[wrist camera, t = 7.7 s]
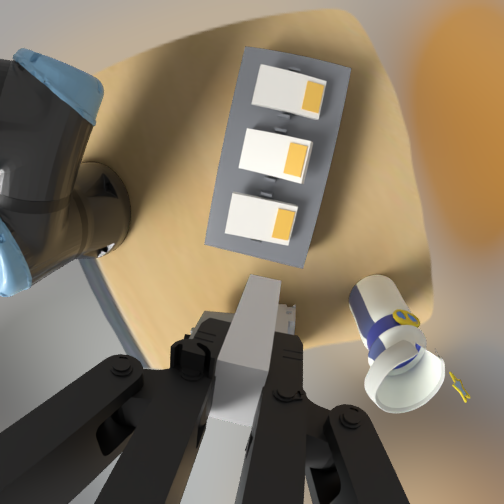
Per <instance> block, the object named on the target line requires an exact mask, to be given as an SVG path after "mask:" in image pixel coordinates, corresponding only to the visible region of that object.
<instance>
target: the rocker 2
mask: <svg viewBox="0 0 504 504" xmlns="http://www.w3.org/2000/svg"><path fill="white" fill-rule="evenodd" d="M312 146H313V142H311V141H308V140H303V139H299V138H294V137H290V136H285V135H280V134H275V133H270V132H265V131H260V130H254V129H249V128H247V130H246V135H245V139H244V144H243V149H242V153H241V158H240V163H239V168H241V169H245V170H250V171H254V172H258V173H262V174H266V175H270V176H274V177H278V178H282V179H285V180H289V181H293V182H297V183H300V184H303V183H304V181H305V176H306V172H307V168H308V164H309V159H310V155H311V151H312Z"/></svg>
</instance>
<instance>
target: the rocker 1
mask: <svg viewBox="0 0 504 504" xmlns="http://www.w3.org/2000/svg"><path fill="white" fill-rule="evenodd" d="M326 82H327V81H324V80H321V79H317V78H314V77H310V76H307V75H303V74H300V73H296V72H292V71H288V70H284V69H280V68H276V67H272V66H267V65H263V64H261V65H260V69H259V73H258V77H257V81H256V86H255V90H254V94H253V99H252V103H251V105H256V106H261V107H266V108H270V109H274V110H279V111H283V112H287V113H291V114H295V115H299V116H303V117H306V118H310V119H314V120H318V119H319V115H320V110H321V106H322V101H323V96H324V92H325V87H326Z"/></svg>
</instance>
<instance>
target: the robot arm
mask: <svg viewBox="0 0 504 504" xmlns="http://www.w3.org/2000/svg"><path fill="white" fill-rule="evenodd" d="M13 59H14V60H13V61H10V60H4V59H0V296H3V297H8V296H12V295H14V294H16V293H18V292H20V291H22V290H26V289H29V288H30V287H31V286H32V285H34V284H35V283H37V282H38V281H40V280H42V279H43V278H45V277H46V276H48V275H49V274H51V273H52V272H54V271H56V270H58V269H59V268H61V267H63V266H64V265H66V264H67V263H69V262H71V261H72V260H74V259H91V258H99V257H102V256H104V255H106V254H108V253H110V252H111V251H113V250H115V249H116V248H117V247H118V246H119V245H120V244H121V243H122V242H123V240H124V238H125V236H126V234H127V232H128V229H129V225H130V217H131V209H130V201H129V197H128V194H127V191H126V188H125V186H124V184H123V182H122V181H121V179H120V178H119V176H118V175H117V174H116V173H115V172H114V171H113V170H112V169H110V168H109V167H107V166H106V165H103V164H101V163H97V162H87V163H81V161H82V158H83V155H84V152H85V149H86V146H87V143H88V140H89V137H90V134H91V132H92V129H93V126H95V125H96V117H97V113H98V110H99V107H100V104H101V102H102V99H103V96H104V89H103V85H102V83H101V82H100V81H99V80H98V79H97V78H95V77H93V76H92V75H90V74H88V73H86V72H84V71H81V70H79V69H77V68H75V67H73V66H70V65H68V64H66V63H63V62H61V61H58V60H56V59H53V58H50V57H48V56H45V55H42V54H39V53H36V52H33V51H31V50H28V49H25V48H21V49H19V50H18V51H17V52H16V54H14V55H13ZM280 288H281V281H280V280H275V279H271V278H266V277H261V276H257V275H252V274H250V276H249V279H248V281H247V284H246V287H245V289H244V292H243V294H242V297H241V299H240V302H239V305H238V307H237V310H236V312H235V315H234V318H233V320H232V323H231V322H227V321H223V320H218V319H214V318H208V319H207V320H205V321H204V322H202V323H201V325H200V326H199V328H198V330H197V332H196V334H195V335H194V338H193V339H182V340H180V341H177V342H175V343H174V344H173V345H172V346H171V355H170V368H169V369H164V370H151V369H143V366H142V364H141V362H140V361H138V360H137V359H136V358H134V357H132V356H129V355H122V354H120V355H113V356H111V357H108V358H107V359H105V360H104V361H102V362H101V363H99V364H98V365H96V366H95V367H94V368H92V369H91V370H89V371H88V372H86V373H85V374H84V375H82V376H81V377H79V378H78V379H77V380H75V381H74V382H72V383H71V384H69V385H68V386H67V387H65V388H64V389H63V390H61V391H59V392H58V393H57V394H55V395H54V396H53V397H51V398H50V399H48V400H47V401H45V402H44V403H43V404H41V405H40V406H38V407H37V408H35V409H34V410H33V411H31V412H30V413H28V414H27V415H25V416H24V417H23V418H21V419H20V420H19V421H17V422H15V423H14V424H13V425H11V426H10V427H8V428H7V429H5V430H4V431H3V432H1V433H0V504H68V503H69V502H70V501H71V500H72V499H74V498H75V497H76V496H77V495H78V494H79V493H80V492H81V491H82V490H83V489H84V488H85V487H86V486H87V485H89V484H90V483H91V482H92V481H93V480H94V479H95V478H96V477H97V476H98V475H99V474H100V473H101V472H102V471H103V470H104V469H105V468H106V467H107V466H108V465H109V464H110V463H111V462H112V461H113V460H114V459H115V458H116V457H117V456H118V455H119V454H121V453H122V454H121V456H120V458H119V459H118V461H117V463H116V465H115V467H114V468H113V470H112V472H111V474H110V476H109V477H108V479H107V481H106V483H105V485H104V487H103V488H102V490H101V492H100V494H99V496H98V498H97V499H96V501H95V503H94V504H180V502H181V499H182V496H183V493H184V490H185V487H186V485H187V482H188V479H189V476H190V473H191V470H192V467H193V464H194V462H195V459H196V456H197V453H198V450H199V447H200V444H201V441H202V439H203V436H204V433H205V429H206V423H207V419H208V416H209V417H211V418H215V419H218V420H222V421H227V422H231V423H235V424H240V425H244V426H250V427H252V431H251V434H250V437H249V440H248V443H247V446H246V449H245V451H246V454H245V459H244V464H243V468H242V473H241V477H240V482H239V487H238V491H237V496H236V501H235V504H303V501H304V484H305V476H306V479H307V483H308V487H309V491H310V495H311V499H312V503H313V504H410V503H409V501H408V499H407V497H406V494H405V492H404V490H403V488H402V485H401V483H400V481H399V479H398V477H397V474H396V472H395V470H394V468H393V466H392V464H391V462H390V459H389V457H388V455H387V453H386V451H385V449H384V447H383V445H382V443H381V441H380V439H379V436H378V434H377V432H376V430H375V428H374V426H373V424H372V422H371V420H370V418H369V416H368V415H367V414H366V412H364V411H363V410H362V409H360V408H359V407H356V406H353V405H346V404H343V405H339V406H336V407H335V408H333V409H332V410H328V409H325V408H323V407H320V406H318V405H316V404H314V403H313V402H311V401H310V400H309V399H308V398H307V396H306V393H305V391H304V390H303V344H302V342H301V340H300V339H299V337H298V336H296V335H291V334H286V333H281V332H276V331H275V324H276V317H277V310H278V303H279V295H280ZM209 413H210V414H209Z"/></svg>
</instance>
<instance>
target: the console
mask: <svg viewBox="0 0 504 504" xmlns="http://www.w3.org/2000/svg"><path fill="white" fill-rule="evenodd" d="M261 64H263V65H267V66H272V67H276V68H280V69H284V70H288V71H292V72H296V73H300V74H303V75H307V76H310V77H314V78H317V79H321V80H324V81H327V82H326V87H325V92H324V96H323V101H322V106H321V110H320V115H319V119H318V120H314V119H310V118H306V117H303V116H299V115H295V114H291V113H287V112H283V111H279V110H274V109H270V108H266V107H261V106H256V105H251V103H252V99H253V94H254V90H255V86H256V81H257V77H258V73H259V69H260V65H261ZM350 73H351V68H348V67H345V66H341V65H337V64H334V63H330V62H326V61H322V60H318V59H313V58H309V57H305V56H300V55H295V54H290V53H285V52H279V51H273V50H267V49H261V48H254V47H246V46H245V50H244V54H243V58H242V62H241V66H240V70H239V75H238V79H237V83H236V87H235V92H234V96H233V100H232V105H231V109H230V114H229V118H228V123H227V128H226V132H225V137H224V142H223V147H222V152H221V157H220V162H219V167H218V172H217V177H216V182H215V188H214V193H213V198H212V204H211V209H210V215H209V221H208V226H207V232H206V238H205V244H204V245H208V246H213V247H217V248H221V249H225V250H229V251H233V252H237V253H241V254H245V255H249V256H253V257H257V258H261V259H265V260H269V261H273V262H277V263H281V264H285V265H289V266H293V267H298V268H302V269H303V267H304V263H305V260H306V256H307V253H308V249H309V246H310V242H311V239H312V235H313V231H314V228H315V224H316V220H317V216H318V213H319V209H320V205H321V201H322V197H323V193H324V189H325V185H326V181H327V177H328V173H329V169H330V165H331V161H332V157H333V152H334V148H335V144H336V139H337V135H338V131H339V126H340V121H341V117H342V112H343V108H344V103H345V98H346V93H347V88H348V83H349V78H350ZM247 128H249V129H254V130H260V131H265V132H270V133H275V134H280V135H285V136H290V137H294V138H299V139H303V140H308V141H311V142H313V146H312V151H311V155H310V159H309V164H308V168H307V172H306V176H305V181H304V183H303V184H300V183H297V182H293V181H289V180H285V179H282V178H278V177H274V176H270V175H266V174H262V173H258V172H254V171H250V170H245V169H241V168H239V163H240V158H241V153H242V149H243V144H244V139H245V135H246V130H247ZM233 192H238V193H243V194H248V195H253V196H258V197H263V198H268V199H272V200H277V201H282V202H286V203H291V204H295V205H297V206H298V209H297V213H296V217H295V221H294V225H293V229H292V233H291V237H290V241H289V245H288V246H287V245H282V244H277V243H272V242H267V241H262V240H257V239H252V238H247V237H242V236H237V235H231V234H226V233H225V229H226V224H227V219H228V213H229V208H230V203H231V198H232V193H233Z"/></svg>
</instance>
